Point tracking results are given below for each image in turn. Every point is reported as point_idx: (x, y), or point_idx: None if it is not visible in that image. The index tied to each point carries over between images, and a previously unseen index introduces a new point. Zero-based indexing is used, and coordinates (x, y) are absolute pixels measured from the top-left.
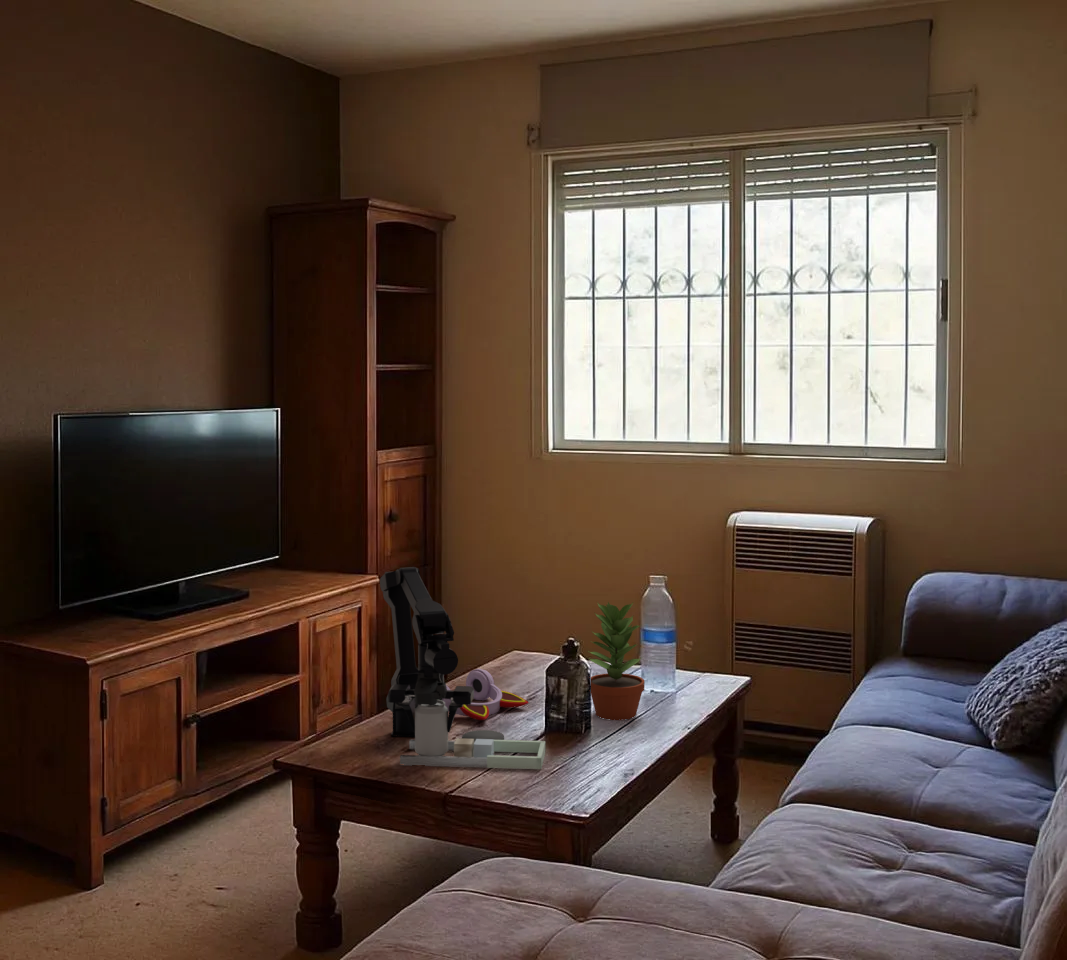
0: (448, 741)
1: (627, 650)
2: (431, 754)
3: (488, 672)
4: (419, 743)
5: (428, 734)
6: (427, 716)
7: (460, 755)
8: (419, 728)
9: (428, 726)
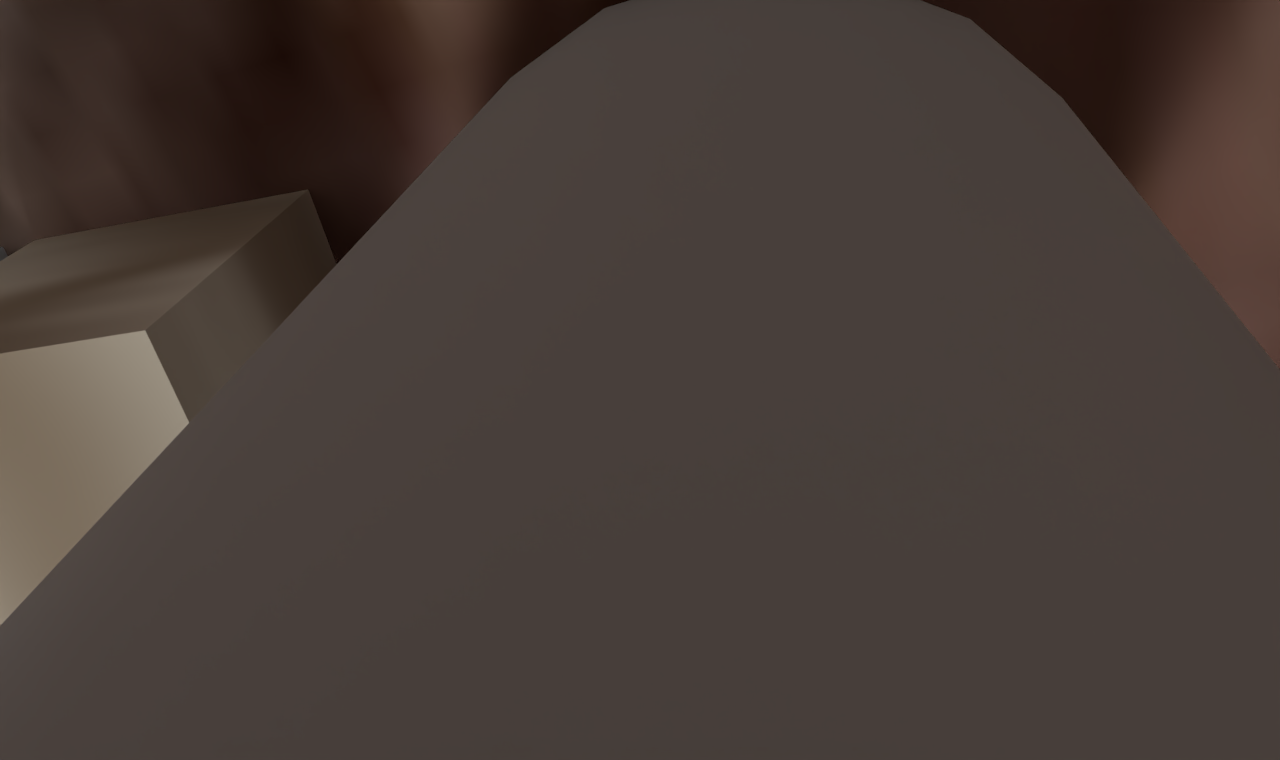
0: None
1: None
2: (636, 5)
3: None
4: (993, 78)
5: (633, 120)
6: (465, 633)
7: (150, 246)
8: (1102, 258)
9: (567, 245)
